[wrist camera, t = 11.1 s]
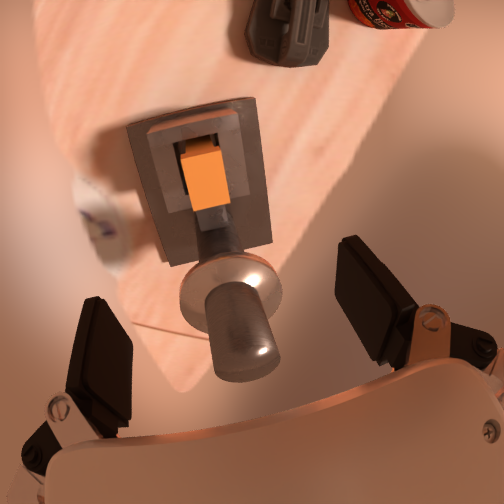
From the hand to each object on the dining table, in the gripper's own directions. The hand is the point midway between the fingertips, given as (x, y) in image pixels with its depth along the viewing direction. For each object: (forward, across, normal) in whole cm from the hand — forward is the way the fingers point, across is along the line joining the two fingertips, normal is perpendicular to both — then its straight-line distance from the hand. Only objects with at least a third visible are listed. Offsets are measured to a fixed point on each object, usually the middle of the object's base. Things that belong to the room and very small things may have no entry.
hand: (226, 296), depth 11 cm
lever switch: (+24, 0, +5) cm, 25 cm away
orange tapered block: (+23, 0, 0) cm, 23 cm away
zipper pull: (+25, -14, -20) cm, 34 cm away
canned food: (+25, -24, -17) cm, 38 cm away
